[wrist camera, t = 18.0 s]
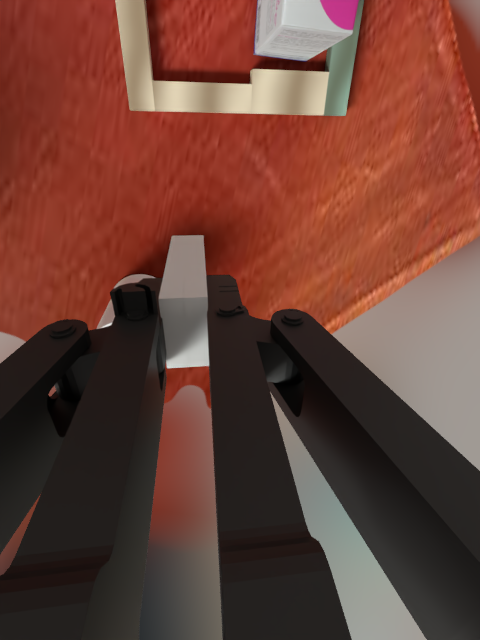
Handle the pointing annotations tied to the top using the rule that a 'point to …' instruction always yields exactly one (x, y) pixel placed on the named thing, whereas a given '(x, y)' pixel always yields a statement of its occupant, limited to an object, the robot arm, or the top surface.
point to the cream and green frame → (255, 98)
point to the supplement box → (301, 27)
